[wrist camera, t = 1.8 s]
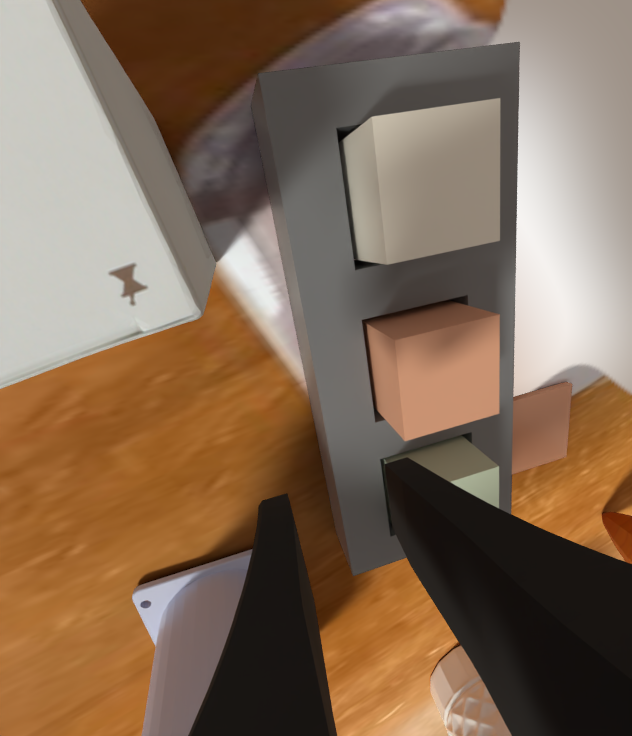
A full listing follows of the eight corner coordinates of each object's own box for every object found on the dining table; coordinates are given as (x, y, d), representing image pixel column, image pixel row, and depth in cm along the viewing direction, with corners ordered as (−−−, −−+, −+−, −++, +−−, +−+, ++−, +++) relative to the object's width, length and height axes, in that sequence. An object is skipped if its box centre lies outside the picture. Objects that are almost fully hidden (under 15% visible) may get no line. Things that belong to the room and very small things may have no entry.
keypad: (476, 487, 23) (510, 521, 20) (336, 532, 22) (353, 576, 19) (466, 76, 16) (520, 41, 13) (250, 105, 14) (258, 73, 11)
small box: (155, 116, 14) (-4, -177, 4) (219, 267, 16) (217, 316, 6) (-73, 189, 13) (-972, 46, 3) (26, 338, 15) (-329, 525, 5)
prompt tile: (561, 453, 24) (566, 456, 24) (505, 471, 23) (509, 475, 23) (566, 381, 22) (572, 384, 22) (506, 399, 21) (511, 401, 21)
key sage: (454, 491, 20) (498, 539, 17) (385, 513, 20) (417, 567, 17) (451, 427, 19) (499, 466, 16) (377, 449, 18) (410, 494, 15)
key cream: (442, 240, 16) (499, 240, 12) (351, 258, 15) (386, 264, 12) (437, 129, 14) (500, 97, 11) (336, 145, 14) (371, 116, 10)
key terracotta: (449, 381, 18) (499, 413, 15) (370, 403, 17) (404, 441, 14) (445, 299, 17) (499, 314, 13) (359, 319, 16) (394, 340, 13)
